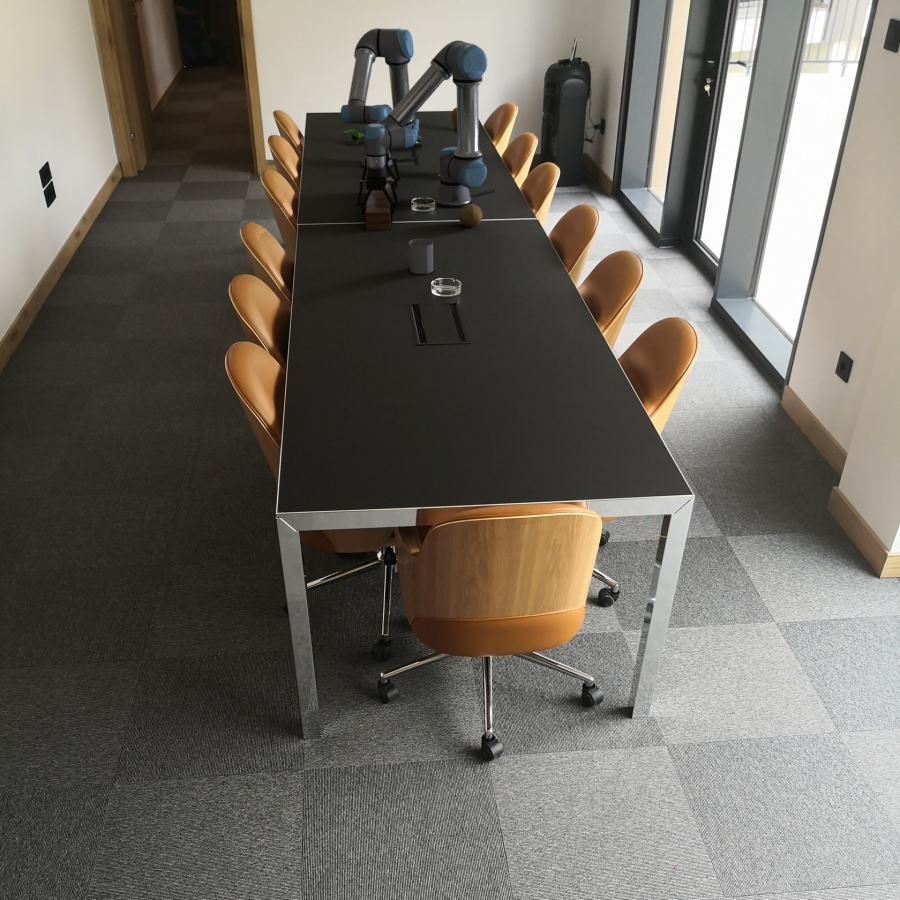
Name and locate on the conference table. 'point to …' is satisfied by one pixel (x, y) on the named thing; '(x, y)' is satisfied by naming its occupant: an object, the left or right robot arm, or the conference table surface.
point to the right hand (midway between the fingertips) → (378, 222)
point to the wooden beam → (378, 210)
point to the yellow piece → (454, 118)
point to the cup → (421, 256)
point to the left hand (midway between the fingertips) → (382, 196)
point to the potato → (470, 215)
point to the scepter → (355, 137)
